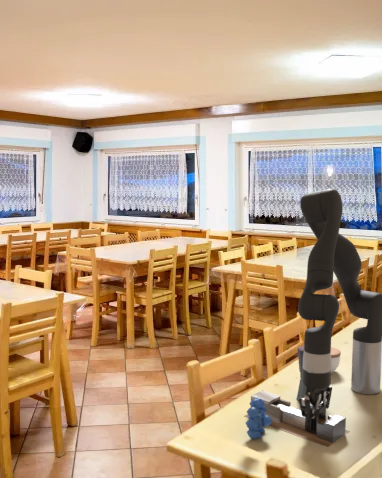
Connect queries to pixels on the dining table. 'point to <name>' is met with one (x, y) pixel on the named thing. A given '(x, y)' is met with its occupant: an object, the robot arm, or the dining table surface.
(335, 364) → the lidded jar
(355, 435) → the dining table surface
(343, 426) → the socket
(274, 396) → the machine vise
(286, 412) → the grey block
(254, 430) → the grapes
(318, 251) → the robot arm
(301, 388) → the moka pot
